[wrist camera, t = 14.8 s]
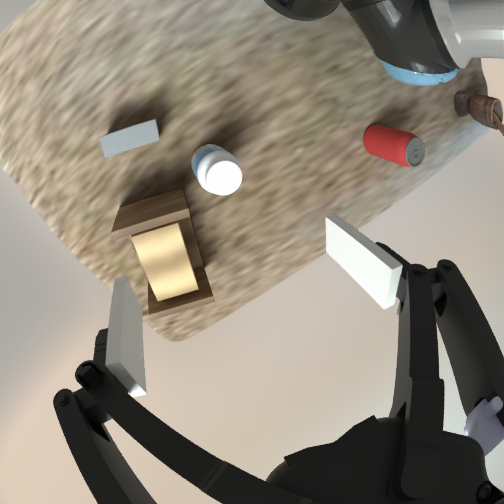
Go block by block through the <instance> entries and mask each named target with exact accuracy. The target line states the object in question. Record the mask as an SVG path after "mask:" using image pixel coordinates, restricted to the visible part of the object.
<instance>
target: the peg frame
mask: <svg viewBox="0 0 504 504" xmlns="http://www.w3.org/2000/svg"><path fill="white" fill-rule="evenodd" d="M177 220H178V222H179V226H180V229H181V233H182V236H183V239H184V242H185V246H186V249H187V252H188V255H189V259H190V262H191V265H192V268H193V271H194V274H195V277H196V281H197V285H198V290H195V291H191V292H188V293H185V294H181V295H178V296H174V297H171V298H168V299H164V300H161V301H158V300H157V298H156V296H155V294H154V292H153V289H152V287H151V285H150V283H149V280H148V278H147V276H146V273H145V271H144V269H143V266H142V264H141V261H140V259H139V256H138V254H137V251H136V249H135V246H134V244H133V241H132V239H131V235H132V234H135V233H138V232H141V231H144V230H148V229H151V228H154V227H157V226H161V225H164V224H167V223H171V222H174V221H177ZM111 233H112V236H113V238H114V240H117V239H120V238H123V237H126V236H129V238H130V241H131V243H132V246H133V248H134V251H135V253H136V256H137V258H138V261H139V263H140V266H141V268H142V270H143V273H144V275H145V277H146V280H147V282H148V309H149V317H150V318H151V320H154V319H157V318H161V317H164V316H168V315H171V314H175V313H178V312H182V311H185V310H188V309H192V308H195V307H198V306H202V305H205V304H208V303H212V302H215V300H214V297H213V294H212V291H211V287H210V284H209V281H208V278H207V275H206V272H205V269H204V266H203V262H202V259H201V255H200V252H199V248H198V245H197V241H196V238H195V234H194V230H193V227H192V223H191V219H190V213H189V209H188V206H187V202H186V199H185V196H184V192H183V189H182V188H179V189H176V190H172V191H169V192H166V193H162V194H159V195H156V196H152V197H149V198H146V199H143V200H140V201H137V202H134V203H130V204H127V205H124V206H121V207H119V210H118V213H117V216H116V219H115V222H114V225H113V228H112V232H111Z"/></svg>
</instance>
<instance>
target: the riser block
mask: <svg viewBox="0 0 504 504" xmlns="http://www.w3.org/2000/svg"><path fill="white" fill-rule="evenodd" d="M99 139H100V142H101V146H102V150H103V153H104V157H105V158H106V157H109V156H112V155H115V154H118V153H121V152H124V151H127V150H130V149H133V148H136V147H139V146H142V145H145V144H149V143H152V142H156V141H159V140H160V134H159V130H158V125H157V121H156V118H155V119H151V120H148V121H145V122H141V123H138V124H135V125H132V126H129V127H126V128H123V129H120V130H117V131H114V132H111V133H108V134H106V135H104V136H102V137H100V138H99Z"/></svg>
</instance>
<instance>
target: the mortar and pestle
mask: <svg viewBox="0 0 504 504" xmlns="http://www.w3.org/2000/svg"><path fill="white" fill-rule="evenodd" d="M454 103H455V109H456V112H457V114H458V115H459V116H466V115H468V113H469V114H470V115H471V116H472V118H473V119H474V120H476V121H478V122H479V123H481V124H482V125H485V126H488V127H490V128H493V129H496V130H498V129H499V130H500V132H501V133H502V134H503V136H504V125H503V124H502V118H503V112H502V105H501V101H500V100H499V99H497V98H493V97H489V96H484V95H475V96H472V97H471V98H470V99H469V97H468V96H467V95H466V94H465V93H463V92H458V93H457V94H456V96H455V100H454Z"/></svg>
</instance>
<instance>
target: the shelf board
mask: <svg viewBox="0 0 504 504" xmlns="http://www.w3.org/2000/svg"><path fill="white" fill-rule="evenodd" d="M131 239H132V241H133V244H134V246H135V249H136V251H137V254H138V256H139V259H140V261H141V264H142V266H143V269H144V271H145V273H146V276H147V278H148V280H149V283H150V285H151V287H152V289H153V292H154V294H155V296H156V298H157V300H158V301H161V300H164V299H168V298H171V297H174V296H178V295H181V294H185V293H188V292H191V291H195V290H198V285H197V281H196V277H195V274H194V271H193V268H192V265H191V262H190V259H189V255H188V252H187V249H186V246H185V242H184V239H183V236H182V233H181V229H180V226H179V222H178V220H177V221H174V222H171V223H167V224H164V225H161V226H157V227H154V228H151V229H148V230H144V231H141V232H138V233H135V234H132V235H131Z"/></svg>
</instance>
